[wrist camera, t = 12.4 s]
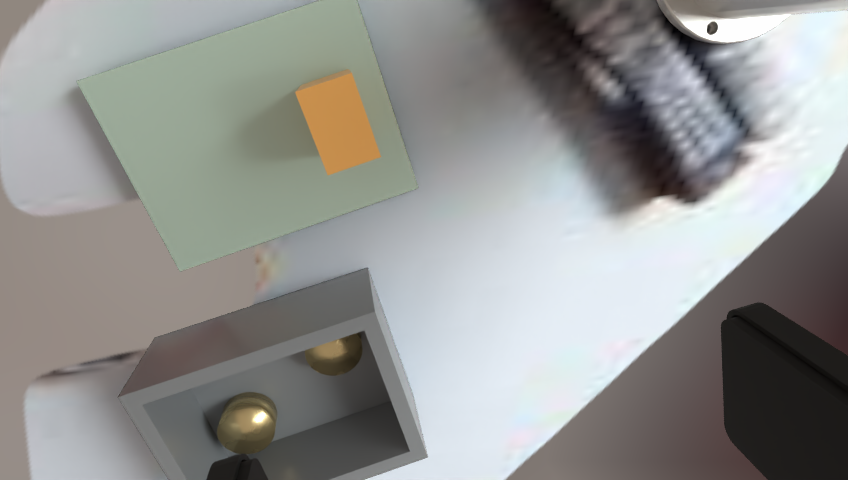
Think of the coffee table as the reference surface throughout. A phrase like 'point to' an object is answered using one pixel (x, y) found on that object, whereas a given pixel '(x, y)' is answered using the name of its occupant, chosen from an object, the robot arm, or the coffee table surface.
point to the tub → (281, 388)
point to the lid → (255, 130)
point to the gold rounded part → (336, 355)
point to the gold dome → (247, 423)
